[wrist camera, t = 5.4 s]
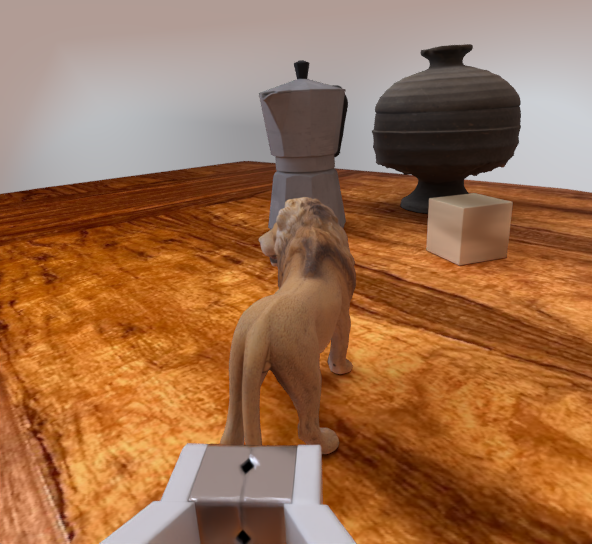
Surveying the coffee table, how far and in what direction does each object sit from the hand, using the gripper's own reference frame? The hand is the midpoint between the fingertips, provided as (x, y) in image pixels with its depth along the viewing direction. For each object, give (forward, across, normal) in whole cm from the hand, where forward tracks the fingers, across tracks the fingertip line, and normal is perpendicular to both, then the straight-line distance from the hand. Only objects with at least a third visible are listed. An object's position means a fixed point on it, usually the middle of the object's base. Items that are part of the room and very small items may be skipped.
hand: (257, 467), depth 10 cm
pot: (+54, -16, +6) cm, 57 cm away
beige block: (+33, -14, +6) cm, 37 cm away
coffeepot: (+46, 0, +6) cm, 46 cm away
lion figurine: (+11, 0, +6) cm, 13 cm away
